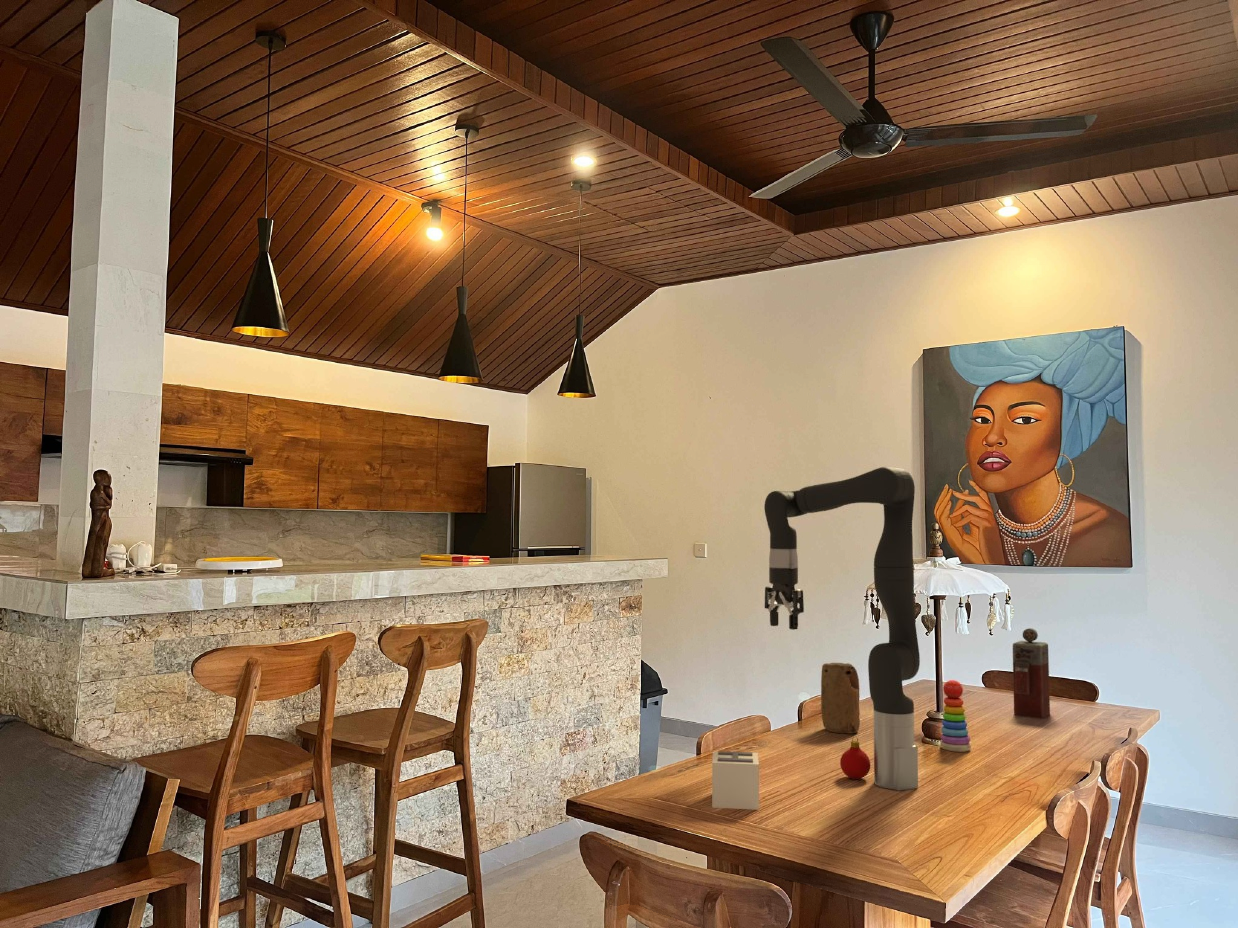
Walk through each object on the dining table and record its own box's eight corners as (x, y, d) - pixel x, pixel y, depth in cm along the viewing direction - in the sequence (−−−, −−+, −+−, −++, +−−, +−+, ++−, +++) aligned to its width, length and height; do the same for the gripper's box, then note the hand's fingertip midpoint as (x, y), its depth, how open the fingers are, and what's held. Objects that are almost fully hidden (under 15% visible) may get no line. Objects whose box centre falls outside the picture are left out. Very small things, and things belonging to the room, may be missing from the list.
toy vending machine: (1011, 715, 291) (1009, 628, 293) (1021, 710, 300) (1019, 626, 302) (1041, 719, 285) (1038, 631, 287) (1050, 714, 294) (1048, 628, 296)
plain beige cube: (712, 760, 194) (712, 807, 193) (758, 762, 192) (759, 809, 192) (713, 749, 204) (713, 794, 203) (757, 750, 202) (757, 796, 202)
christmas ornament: (849, 783, 212) (849, 740, 213) (834, 775, 219) (834, 733, 219) (876, 781, 214) (875, 738, 215) (860, 773, 221) (860, 732, 221)
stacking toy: (946, 744, 252) (944, 676, 253) (975, 748, 247) (973, 679, 248) (935, 749, 246) (934, 680, 247) (965, 754, 241) (964, 683, 242)
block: (819, 730, 267) (818, 663, 269) (829, 726, 273) (828, 660, 275) (854, 735, 261) (853, 666, 262) (863, 731, 267) (862, 663, 268)
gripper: (756, 565, 242) (756, 625, 241) (787, 567, 230) (788, 631, 228) (779, 564, 246) (779, 624, 245) (811, 567, 233) (812, 629, 232)
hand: (783, 627), depth 236 cm, fingers open, 8 cm apart
